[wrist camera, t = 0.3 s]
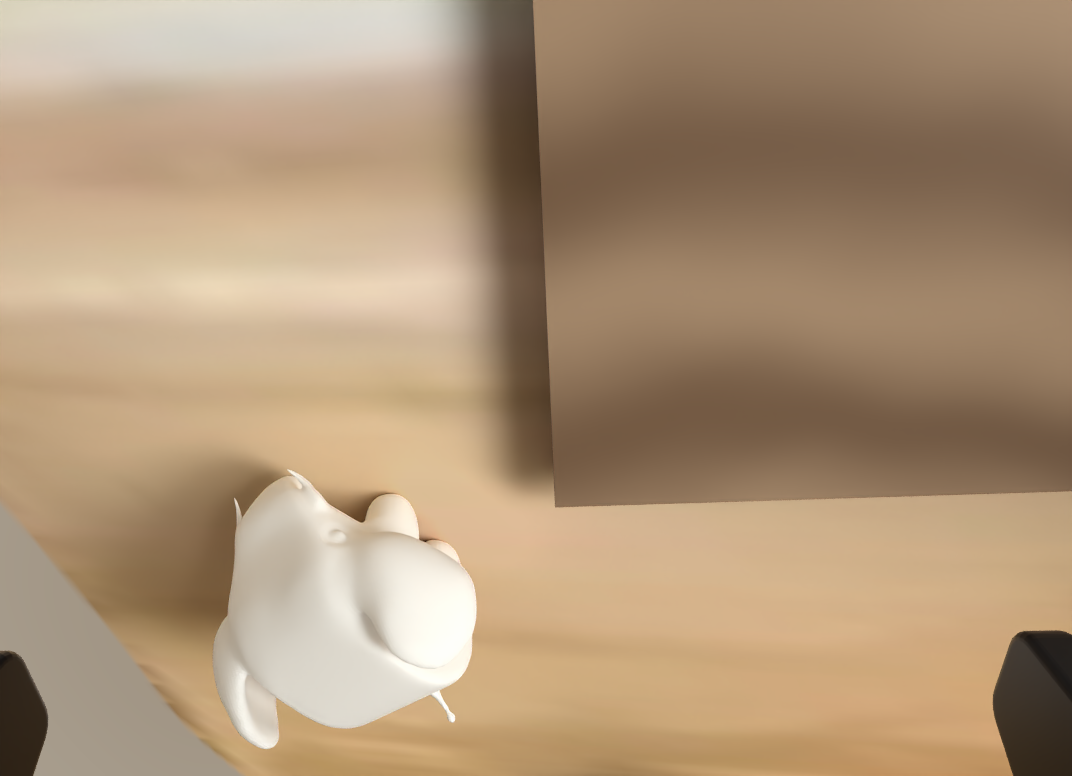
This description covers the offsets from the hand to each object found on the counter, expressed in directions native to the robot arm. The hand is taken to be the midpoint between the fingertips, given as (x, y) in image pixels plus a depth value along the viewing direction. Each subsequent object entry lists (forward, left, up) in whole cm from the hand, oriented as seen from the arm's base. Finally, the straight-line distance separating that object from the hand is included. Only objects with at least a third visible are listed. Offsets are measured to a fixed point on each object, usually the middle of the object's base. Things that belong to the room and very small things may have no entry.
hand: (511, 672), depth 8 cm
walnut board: (0, -7, -13) cm, 15 cm away
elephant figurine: (-10, +5, -14) cm, 18 cm away
